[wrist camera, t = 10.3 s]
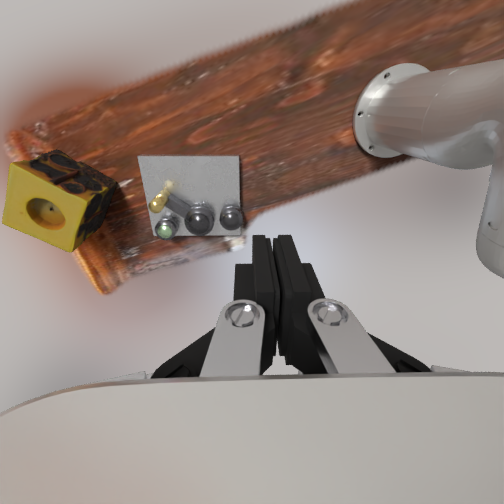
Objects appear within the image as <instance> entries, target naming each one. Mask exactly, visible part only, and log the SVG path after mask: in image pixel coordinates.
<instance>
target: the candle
mask: <svg viewBox="0 0 504 504" xmlns="http://www.w3.org/2000/svg"><path fill="white" fill-rule="evenodd" d="M116 186H117V184H116V181H115V180H113V179H111V178H109V177H107V176H105V175H103V174H102V173H101V172H99V171H97V170H95V169H93V168H91V167H90V166H88V165H86V164H83V163H82V162H76V161H74V160H73V159H72V158H70V157H68V156H67V155H66V154H65V153H63V152H62V151H59V150H57V149H56V150H53V151H51V152H48V153H45V154H43V153H42V154H41V155H40V156H38V157H37V158H35V159H34V160H30V161H25V160H23V161H20V162H13V163H11V164H10V166H9V175H8V184H7V194H6V201H5V208H4V213H3V218H2V219H3V220H2V223H3V224H4V225H7V226H9V227H11V228H13V229H16V230H18V231H21V232H23V233H25V234H28V235H30V236H33V237H35V238H38V239H40V240H42V241H45V242H47V243H49V244H51V245H53V246H56V247H58V248H60V249H62V250H65V251H67V252H73V251H74V250H75V249H76V248H77V247H78V246H80V245H81V244H82V243H83V241H85V239H86V238H88V237H89V235H91V234H92V233H94V232H95V231H97V229H98V228H100V226H101V224H102V223H103V219H104V218H105V216H106V213H107V210H108V207H109V204H110V202H111V198H112V195H113V193H114V190H115V188H116Z"/></svg>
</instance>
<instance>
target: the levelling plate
mask: <svg viewBox="0 0 504 504" xmlns="http://www.w3.org/2000/svg"><path fill="white" fill-rule="evenodd" d="M138 161H139V166H140V171H141V176H142V181H143V186H144V190H145V195H146V200H147V205H148V204H149V203H150V202H151V201H152V200H153V199H154V197H155V196H156V195H157V194H158V193H159V192H160V191H161V190H168V191H169V192H170V193H171V194H172V195H173V196H175V197H177V198H178V199H180V200H181V201H183V202H184V203H186V204H187V205H189V206H190V207H193V206H195V205H204V206H206V207H208V208H210V209H211V210H212V212H213V213H214V216H215V222H214V226H213V229H212V230H211V232H210V233H208V234H207V235H240V226H241V225H242V222H243V213H242V210H241V209H240V180H239V155H139V156H138ZM148 210H149V208H148ZM149 215H150V220H151V225H152V229H153V234H154V236H158V237H159V238H161V239H163V240H171V239H172V238H174V236H196V235H194V234H192V233H190V232H189V231H188V230H187V228H186V227H185V223H184V218H183V217H181V216H180V215H178V214H177V213H175V212H173V211H172V210H170V209H169V208H167V207H164V208H163V209H162V211H161V212H160V213H152V212H151V211H150V210H149Z"/></svg>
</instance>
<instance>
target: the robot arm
mask: <svg viewBox="0 0 504 504" xmlns="http://www.w3.org/2000/svg"><path fill="white" fill-rule="evenodd" d="M384 75H386V78H385V79H384ZM359 112H360V115H359V116H358V113H359ZM353 131H354V135H355V138H356V140H357V142H358V144H359V145H360V147H361V148H362V149H363V150H364V151H366V152H368V153H369V154H371V155H374V156H377V157H381V158H390V157H395V156H399V155H401V154H406V155H409V156H413V157H416V158H419V159H422V160H425V161H429V162H432V163H435V164H438V165H441V166H445V167H449V168H454V169H464V170H468V169H476V168H481V167H485V166H489V165H492V169H491V173H490V178H489V182H490V183H489V187H488V191H487V195H486V200H485V203H484V208H483V212H482V216H481V220H480V224H479V229H478V233H477V239H476V250H477V255H478V257H479V259H480V261H481V262H482V263H483V265H484V266H485V267H486V268H488V269H489V270H490V271H492V272H493V273H495V274H496V275H498V276H500V277H502V278H504V59H501V60H495V61H490V62H484V63H479V64H473V65H468V66H462V67H456V68H450V69H444V70H439V71H433V72H430V71H429V70H428V69H426V68H425V67H423V66H421V65H418V64H413V63H405V64H399V65H395V66H392V67H390V68H388V69H385V70H384V71H382V72H381V73H379V74H378V75H376V76H375V77H374V78H373V79H372V80H371V81H370V82H369V83H368V85H367V86H366V87H365V88H364V90H363V91H362V93H361V95H360V97H359V98H358V101H357V103H356V106H355V110H354V114H353ZM369 146H371V147H370V148H369ZM252 248H253V249H252V252H253V253H252V254H253V255H252V264H236V265H235V283H234V301H232V302H230V303H228V304H227V305H226V306H224V307H223V309H222V311H221V312H220V315H219V319H218V321H217V325H216V327H215V328H214V329H212V330H211V331H209V332H208V333H207V334H205V335H204V336H202V337H201V338H199V339H198V340H196V341H195V342H194V343H192V344H191V345H189V346H188V347H187V348H185V349H184V350H182V351H181V352H179V353H178V354H176V355H175V356H173V357H172V358H171V359H169V360H168V361H166V362H165V363H163V364H162V365H161V366H160V367H159V368H158V369H156V371H155V372H154V373H151V374H147V375H146V373H145V371H143V372H138V373H134V374H129V375H125V376H120V377H116V378H112V379H107V380H103V381H98V382H94V383H89V384H84V385H79V386H75V387H71V388H66V389H62V390H59V391H54V392H51V393H48V394H46V395H42V396H40V397H37V398H34V399H31V400H28V401H25V402H23V403H21V404H18V405H16V406H14V407H12V408H10V409H8V410H6V411H4V412H1V413H0V504H504V373H499V372H468V371H462V370H457V369H450V368H445V367H439V366H434V365H432V366H431V368H430V369H429V368H428V367H427V366H426V365H425V364H423V363H422V362H420V361H419V360H417V359H415V358H414V357H412V356H410V355H408V354H406V353H404V352H402V351H400V350H398V349H397V348H395V347H393V346H391V345H389V344H387V343H385V342H384V341H382V340H380V339H378V338H376V337H374V336H373V335H371V334H369V333H367V332H366V330H364V328H363V326H362V325H361V324H360V322H359V321H358V320H357V318H356V317H355V315H354V314H353V313H352V312H351V310H350V309H349V308H348V307H347V306H346V305H344V304H343V303H341V302H338V301H336V300H332V299H326V298H325V296H324V294H323V291H322V289H321V287H320V284H319V282H318V279H317V277H316V275H315V272H314V270H313V267H312V265H311V264H310V263H301V261H300V258H299V256H298V253H297V250H296V247H295V245H294V242H293V239H292V236H291V235H278V238H274V239H273V252H272V246H271V241H270V238H265V235H253V246H252ZM277 341H278V349H279V355H280V356H285V361H286V365H293V366H294V367H295V368H297V369H298V370H299V371H298V375H263V373H264V372H265V371H266V370H267V369H268V368H269V367H270V366H271V365H272V361H273V356H275V355H276V344H277Z"/></svg>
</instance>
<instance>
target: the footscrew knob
mask: <svg viewBox="0 0 504 504" xmlns="http://www.w3.org/2000/svg"><path fill="white" fill-rule="evenodd" d="M164 207H167V208H169V209H170V210H172V211H173V212H175V213H177V214H178V215H180V216H181V217H183V218H184V223H185V227H186V228H187V230H188V231H189V232H190V233H192V234H194V235H197V236H204V235H207V234H208V233H210V232H211V230H212V229H213V226H214V222H215V216H214V213H213V212H212V210H211V209H210V208H208V207H206V206H204V205H195V206H193V207H190V206H189V205H187V204H186V203H184V202H183V201H181V200H180V199H178V198H177V197H175V196H173V195H172V194H171V193H170V192H169V191H168V190H161V191H160V192H159V193H158V194H157V195H156V196H155V197H154V199H153V200H152V201H151V202H150V203H149V204H148V208H149V210H150V211H151V212H152V213H160V212H161V211H162V209H163V208H164Z"/></svg>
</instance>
